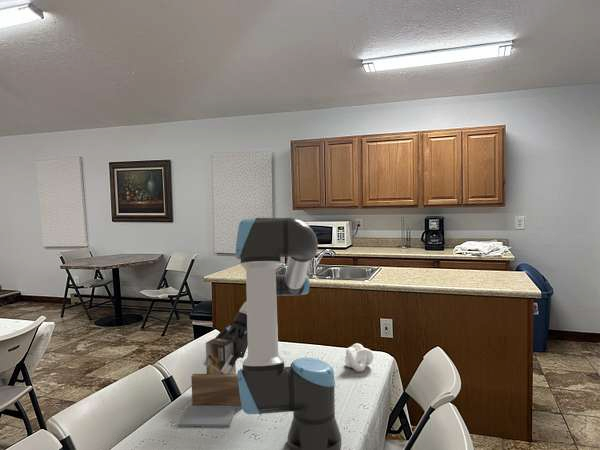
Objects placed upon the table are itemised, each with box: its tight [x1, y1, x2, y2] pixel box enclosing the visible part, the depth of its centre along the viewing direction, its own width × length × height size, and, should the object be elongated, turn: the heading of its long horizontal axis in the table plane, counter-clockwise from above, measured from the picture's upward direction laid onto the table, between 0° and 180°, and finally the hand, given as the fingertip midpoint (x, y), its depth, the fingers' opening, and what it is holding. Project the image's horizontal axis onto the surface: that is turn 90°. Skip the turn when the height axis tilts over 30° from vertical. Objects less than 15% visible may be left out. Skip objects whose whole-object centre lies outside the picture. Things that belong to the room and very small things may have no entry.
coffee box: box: [205, 337, 237, 374], centre depth 151 cm, size 9×6×16 cm
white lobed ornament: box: [344, 342, 375, 373], centre depth 169 cm, size 11×12×9 cm
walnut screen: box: [191, 373, 242, 406], centre depth 141 cm, size 2×19×10 cm, turn 88°
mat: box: [177, 405, 237, 428], centre depth 132 cm, size 11×16×1 cm
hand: (214, 369), depth 149 cm, fingers closed on coffee box, 10 cm apart
